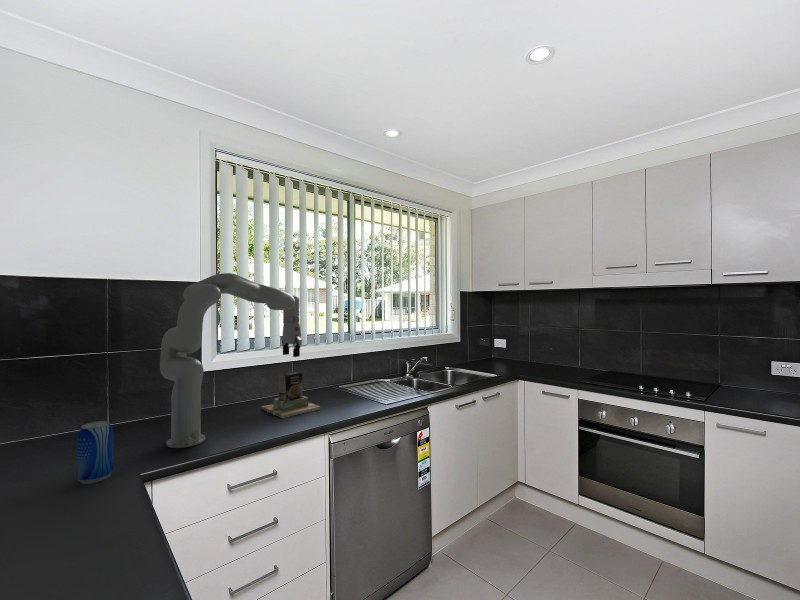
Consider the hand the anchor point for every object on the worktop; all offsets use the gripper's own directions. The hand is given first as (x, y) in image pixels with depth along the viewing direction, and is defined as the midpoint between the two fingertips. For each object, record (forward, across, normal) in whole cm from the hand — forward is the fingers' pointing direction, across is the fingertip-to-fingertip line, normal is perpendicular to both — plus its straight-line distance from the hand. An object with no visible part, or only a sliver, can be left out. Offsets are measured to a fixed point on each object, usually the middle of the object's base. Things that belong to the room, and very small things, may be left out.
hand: (291, 355), depth 182 cm
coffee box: (+25, 0, 0) cm, 25 cm away
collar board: (+26, 0, 0) cm, 26 cm away
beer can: (+27, -22, +77) cm, 84 cm away
